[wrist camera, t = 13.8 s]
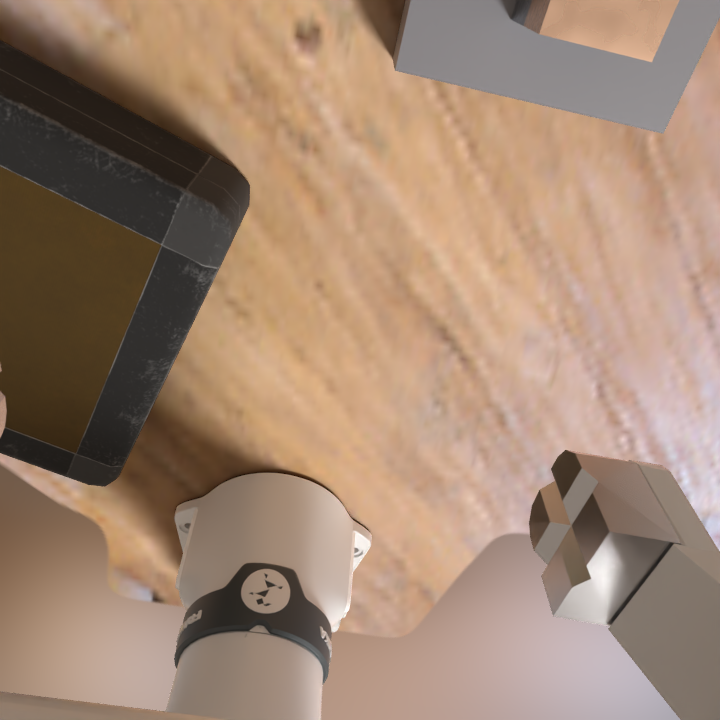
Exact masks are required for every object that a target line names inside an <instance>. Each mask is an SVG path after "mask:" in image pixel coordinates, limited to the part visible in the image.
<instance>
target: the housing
mask: <svg viewBox="0 0 720 720" xmlns="http://www.w3.org/2000/svg"><path fill="white" fill-rule="evenodd" d="M678 2H679V0H517V1H516V4H515V7H514V10H513V14H512V17H511V20H513V21H515V22H516V23H518V24H520V25H522V26H524V27H526V28H528V29H530V30H532V31H534V32H536V33H538V34H540V35H544V36H548V37H552V38H556V39H560V40H564V41H568V42H572V43H576V44H580V45H584V46H588V47H592V48H596V49H600V50H605V51H609V52H613V53H617V54H621V55H625V56H629V57H633V58H637V59H641V60H645V61H649V62H652V61H653V59H654V56H655V54H656V52H657V50H658V47H659V45H660V43H661V41H662V38H663V36H664V34H665V32H666V29H667V27H668V25H669V23H670V20H671V18H672V16H673V14H674V11H675V9H676V7H677V5H678Z"/></svg>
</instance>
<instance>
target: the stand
mask: <svg viewBox="0 0 720 720" xmlns="http://www.w3.org/2000/svg"><path fill="white" fill-rule="evenodd" d="M516 1H517V0H405V5H404V9H403V14H402V18H401V23H400V28H399V32H398V37H397V41H396V46H395V51H394V55H393V62H394V67H395V71H399V72H403V73H407V74H412V75H416V76H420V77H424V78H429V79H433V80H437V81H441V82H446V83H450V84H454V85H458V86H463V87H467V88H471V89H475V90H480V91H484V92H488V93H492V94H497V95H501V96H505V97H509V98H514V99H518V100H522V101H526V102H531V103H535V104H539V105H543V106H548V107H552V108H556V109H561V110H565V111H569V112H573V113H578V114H582V115H586V116H590V117H595V118H599V119H603V120H607V121H612V122H616V123H620V124H624V125H629V126H633V127H637V128H641V129H646V130H650V131H654V132H658V133H664V131H665V129H666V127H667V125H668V123H669V121H670V119H671V117H672V115H673V112H674V110H675V108H676V106H677V104H678V102H679V100H680V98H681V96H682V94H683V92H684V90H685V88H686V86H687V84H688V82H689V80H690V77H691V75H692V73H693V71H694V69H695V67H696V65H697V63H698V61H699V59H700V57H701V55H702V53H703V51H704V49H705V47H706V45H707V42H708V40H709V38H710V36H711V34H712V32H713V30H714V28H715V26H716V24H717V22H718V20H719V18H720V0H679V2H678V5H677V7H676V9H675V11H674V14H673V16H672V18H671V20H670V23H669V25H668V27H667V29H666V32H665V34H664V36H663V38H662V41H661V43H660V45H659V47H658V50H657V52H656V54H655V56H654V59H653V61H652V62H649V61H645V60H641V59H637V58H633V57H629V56H625V55H621V54H617V53H613V52H609V51H605V50H600V49H596V48H592V47H588V46H584V45H580V44H576V43H572V42H568V41H564V40H560V39H556V38H552V37H548V36H544V35H540V34H538V33H536V32H534V31H532V30H530V29H528V28H526V27H524V26H522V25H520V24H518V23H516V22H515V21H513V20H511V17H512V14H513V10H514V7H515V4H516Z"/></svg>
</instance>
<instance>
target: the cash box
mask: <svg viewBox="0 0 720 720" xmlns="http://www.w3.org/2000/svg"><path fill="white" fill-rule="evenodd" d="M249 200H250V185H249V183H248V182H247V181H246V180H245V179H244V177H243V176H242V175H241V174H240V173H239V172H238V171H237V170H236V169H235V168H233V167H231V166H229V165H228V164H226V163H224V162H222V161H220V160H218V159H217V158H215V157H213V156H211V155H210V154H208V153H206V152H204V151H202V150H200V149H199V148H197V147H195V146H193V145H191V144H189V143H188V142H186V141H184V140H182V139H180V138H178V137H177V136H175V135H173V134H171V133H169V132H167V131H166V130H164V129H162V128H160V127H158V126H156V125H155V124H153V123H151V122H149V121H147V120H145V119H144V118H142V117H140V116H138V115H136V114H134V113H133V112H131V111H129V110H127V109H125V108H123V107H122V106H120V105H118V104H116V103H114V102H112V101H111V100H109V99H107V98H105V97H103V96H101V95H100V94H98V93H96V92H94V91H92V90H90V89H89V88H87V87H85V86H83V85H81V84H79V83H78V82H76V81H74V80H72V79H70V78H68V77H67V76H65V75H63V74H61V73H59V72H58V71H56V70H54V69H52V68H50V67H48V66H47V65H45V64H43V63H41V62H39V61H37V60H36V59H34V58H32V57H30V56H28V55H26V54H25V53H23V52H21V51H19V50H17V49H15V48H14V47H12V46H10V45H8V44H6V43H4V42H3V41H1V40H0V364H1V370H2V371H1V372H0V391H1V393H2V394H3V395H4V396H5V400H6V409H7V413H6V422H5V428H4V430H3V433H2V435H1V438H0V453H2V454H5V455H7V456H10V457H13V458H16V459H18V460H21V461H24V462H27V463H29V464H32V465H35V466H38V467H41V468H43V469H46V470H49V471H52V472H54V473H57V474H60V475H63V476H66V477H69V478H71V479H74V480H77V481H80V482H82V483H85V484H88V485H96V486H107V485H108V484H110V483H111V482H113V481H114V480H116V479H117V478H118V477H119V475H120V473H121V471H122V468H123V466H124V464H125V462H126V460H127V458H128V456H129V454H130V452H131V450H132V448H133V446H134V444H135V442H136V440H137V438H138V436H139V433H140V431H141V429H142V427H143V425H144V423H145V421H146V419H147V417H148V415H149V413H150V411H151V409H152V407H153V405H154V402H155V400H156V398H157V396H158V394H159V392H160V390H161V388H162V386H163V384H164V382H165V380H166V378H167V376H168V374H169V371H170V369H171V367H172V365H173V363H174V361H175V359H176V357H177V355H178V353H179V351H180V349H181V347H182V345H183V343H184V340H185V338H186V336H187V334H188V332H189V330H190V328H191V326H192V324H193V322H194V320H195V318H196V316H197V314H198V311H199V309H200V307H201V305H202V303H203V301H204V299H205V297H206V295H207V293H208V291H209V289H210V287H211V285H212V283H213V280H214V278H215V276H216V274H217V272H218V270H219V268H220V266H221V264H222V262H223V260H224V257H225V255H226V253H227V251H228V249H229V247H230V245H231V243H232V241H233V239H234V237H235V234H236V232H237V230H238V228H239V226H240V224H241V222H242V220H243V217H244V215H245V213H246V211H247V209H248V207H249Z"/></svg>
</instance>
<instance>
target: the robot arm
mask: <svg viewBox="0 0 720 720" xmlns="http://www.w3.org/2000/svg"><path fill="white" fill-rule="evenodd" d="M1 371H2V370H1V364H0V372H1ZM6 413H7V409H6V400H5V396H4V395H3V394H2V393H1V391H0V438H1V435H2V433H3V430H4V428H5V422H6ZM551 470H552V473H553V476H554V479H555V481H554V482H552V483H551V484H549V485H547V486H546V487H544V488H542V489H540V490H539V492H538V495H537V497H536V499H535V501H534V503H533V505H532V509H531V515H530V521H529V526H530V538H531V541H532V545H533V549H534V551H535V552H536V553H537V554H538V555H539V556H540V557H541V558H542V559H543V561H544V562H545V563H546V564H547V567H546V568H545V570H544V572H543V574H542V576H541V577H542V580H543V584H544V587H545V590H546V594H547V597H548V600H549V603H550V607H551V611H552V614H553V616H554V617H560V618H566V619H571V620H576V621H583V622H588V623H593V624H599V625H605V626H610V628H609V631H610V632H611V633H612V634H613V636H614V637H615V638H616V639H617V641H618V642H619V643H620V644H621V646H622V647H623V648H624V649H625V651H626V652H627V653H628V654H629V656H630V657H631V658H632V659H633V661H634V662H635V663H636V664H637V666H638V667H639V668H640V669H641V671H642V672H643V673H644V675H645V676H646V677H647V678H648V680H649V681H650V682H651V683H652V684H653V686H654V687H655V688H656V690H657V691H658V692H659V693H660V695H661V696H662V697H663V698H664V700H665V701H666V702H667V703H668V705H669V706H670V707H671V708H672V710H673V711H674V712H675V713H676V715H677V716H678V717H679V718H680V719H681V720H720V552H719V550H718V548H717V547H716V545H715V544H714V542H713V540H712V539H711V537H710V535H709V534H708V532H707V531H706V529H705V527H704V526H703V524H702V522H701V521H700V519H699V518H698V516H697V514H696V513H695V511H694V509H693V508H692V506H691V504H690V503H689V501H688V500H687V498H686V496H685V495H684V493H683V491H682V490H681V488H680V487H679V485H678V483H677V482H676V480H675V478H674V477H673V475H672V474H671V472H670V471H669V470H667V469H666V468H665V467H663V466H662V465H657V464H651V463H645V462H638V461H632V460H629V461H625V460H619V459H614V458H608V457H603V456H597V455H591V454H586V453H580V452H575V451H569V450H565V451H564V452H563V453H562V454H561V455H559V456H558V458H557V459H556V461H555V463H554V465H553V467H552V468H551ZM174 518H175V523H176V527H177V531H178V535H179V539H180V543H181V547H182V551H183V556H182V560H181V563H180V567H179V571H178V575H177V579H176V588H177V589H178V590H179V595H180V599H181V601H182V603H183V605H184V607H185V609H186V611H187V612H186V614H185V617H184V621H183V625H182V626H181V628H180V631H179V634H178V638H177V646H176V647H177V648H176V653H175V658H174V660H175V666H176V668H177V670H176V674H175V678H174V681H173V685H172V689H171V693H170V696H169V700H168V704H167V707H166V711H156V710H148V709H140V708H132V707H123V706H115V705H107V704H99V703H90V702H82V701H73V700H65V699H57V698H49V697H41V696H33V695H24V694H16V693H8V692H0V720H321V702H322V701H321V700H322V685H323V684H324V683H325V681H326V679H327V677H328V671H329V663H330V662H331V654H332V645H331V634H332V632H336V631H337V630H338V627H339V625H340V621H341V618H345V616H346V613H347V611H348V610H349V607H350V602H351V589H352V576H353V572H354V570H355V569H356V567H357V566H358V564H359V563H360V561H361V560H362V559H363V557H364V556H365V554H366V553H367V551H368V550H369V548H370V546H371V540H372V535H371V533H370V532H369V531H368V530H367V529H365V528H364V527H363V526H361V525H360V524H358V523H357V522H355V521H353V519H352V518H351V517H350V516H349V514H348V513H347V511H346V509H345V508H344V506H343V505H342V503H341V502H340V501H339V500H338V499H337V498H336V497H335V496H334V495H333V494H332V493H330V492H329V491H328V490H326V489H325V488H323V487H321V486H319V485H318V484H316V483H313V482H311V481H309V480H306V479H303V478H300V477H296V476H292V475H287V474H280V473H255V474H248V475H243V476H239V477H236V478H233V479H230V480H228V481H226V482H224V483H222V484H220V485H219V486H217V487H216V488H215V489H213V490H212V491H211V492H209V493H208V494H207V495H205V496H203V497H202V498H198V499H194V500H190V501H187V502H184V503H182V504H180V505H178V506H177V508H176V512H175V517H174Z"/></svg>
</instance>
